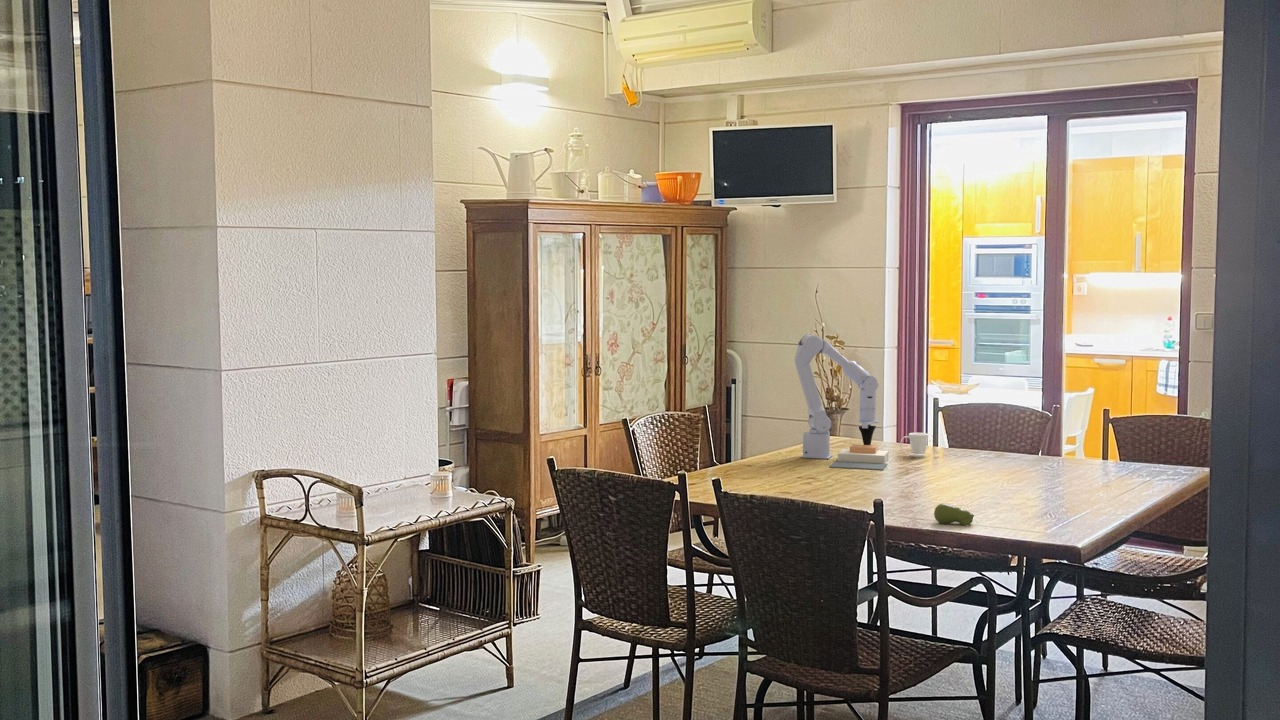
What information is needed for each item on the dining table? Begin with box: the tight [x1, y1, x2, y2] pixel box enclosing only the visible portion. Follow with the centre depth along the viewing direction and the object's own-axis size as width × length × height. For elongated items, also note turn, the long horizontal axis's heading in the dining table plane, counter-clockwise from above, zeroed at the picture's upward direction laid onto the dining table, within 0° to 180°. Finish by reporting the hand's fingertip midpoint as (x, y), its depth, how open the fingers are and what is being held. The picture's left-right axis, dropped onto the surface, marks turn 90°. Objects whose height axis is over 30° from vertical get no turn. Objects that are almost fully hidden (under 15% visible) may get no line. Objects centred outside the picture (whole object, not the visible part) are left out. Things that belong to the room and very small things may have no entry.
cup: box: [899, 432, 930, 458], centre depth 421 cm, size 7×10×8 cm
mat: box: [829, 460, 888, 471], centre depth 398 cm, size 18×12×1 cm, turn 72°
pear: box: [933, 503, 974, 526], centre depth 305 cm, size 6×5×10 cm
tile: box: [849, 444, 879, 454], centre depth 411 cm, size 9×6×2 cm, turn 72°
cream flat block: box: [837, 448, 889, 464], centre depth 410 cm, size 16×12×3 cm
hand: (867, 445), depth 419 cm, fingers closed
